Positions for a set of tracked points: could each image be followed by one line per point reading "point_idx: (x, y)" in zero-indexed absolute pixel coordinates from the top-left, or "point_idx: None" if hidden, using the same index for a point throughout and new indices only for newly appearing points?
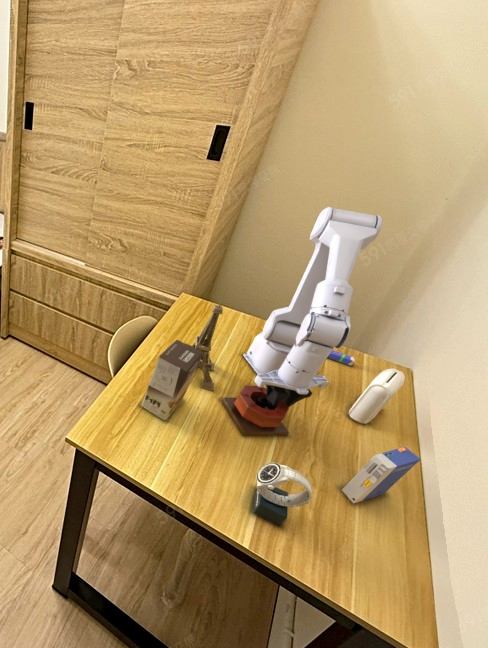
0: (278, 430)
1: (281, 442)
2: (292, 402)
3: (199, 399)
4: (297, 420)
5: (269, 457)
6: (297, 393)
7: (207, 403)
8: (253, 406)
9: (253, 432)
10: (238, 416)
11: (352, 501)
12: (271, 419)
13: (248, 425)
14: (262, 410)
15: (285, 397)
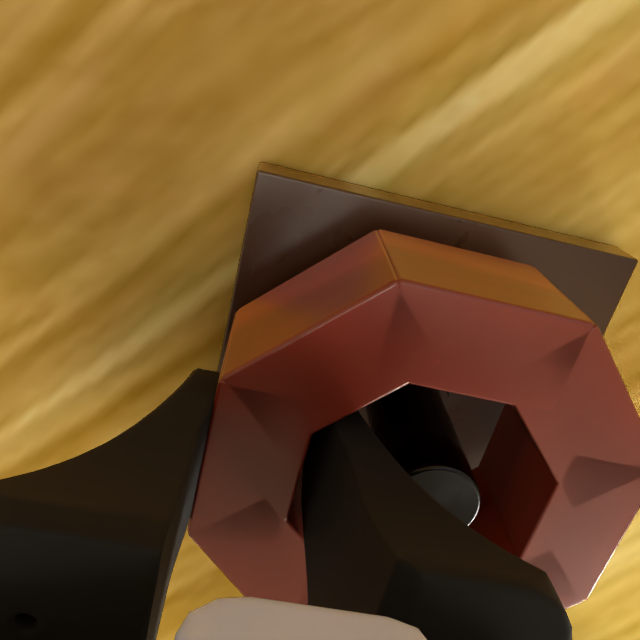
0: (338, 211)
1: (361, 115)
2: (186, 431)
3: (625, 554)
4: (38, 273)
5: (602, 5)
6: (163, 567)
7: None
8: (605, 463)
9: (569, 243)
10: None
11: None
12: (522, 293)
13: None
14: (564, 405)
15: (388, 531)
